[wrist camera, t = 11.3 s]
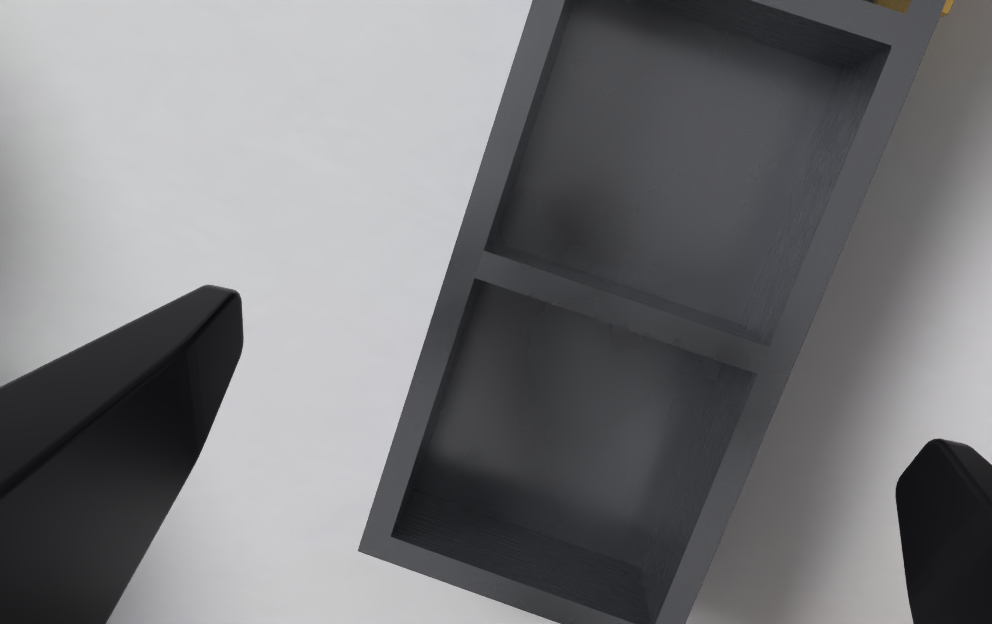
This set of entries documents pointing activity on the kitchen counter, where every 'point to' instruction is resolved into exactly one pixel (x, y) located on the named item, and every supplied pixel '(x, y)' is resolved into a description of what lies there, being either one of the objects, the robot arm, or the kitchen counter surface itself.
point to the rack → (635, 292)
